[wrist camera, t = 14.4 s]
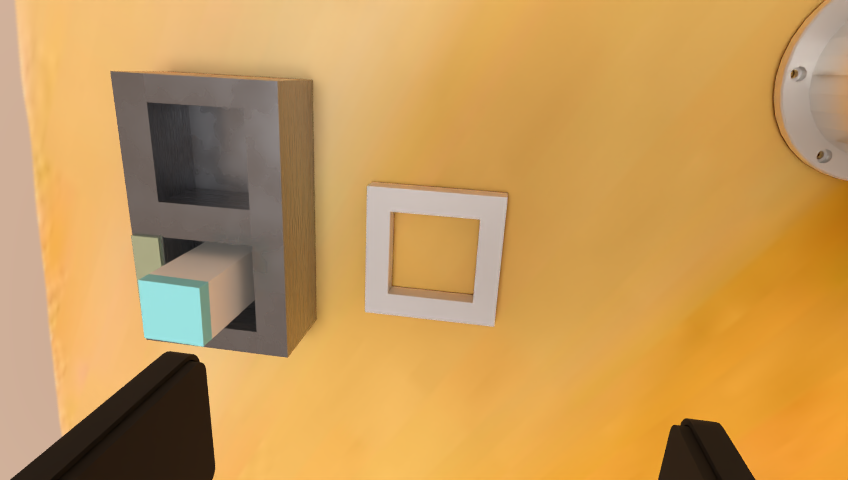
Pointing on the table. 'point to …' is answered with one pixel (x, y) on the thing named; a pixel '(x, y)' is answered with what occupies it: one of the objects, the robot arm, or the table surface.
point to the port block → (225, 188)
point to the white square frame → (439, 203)
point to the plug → (197, 293)
